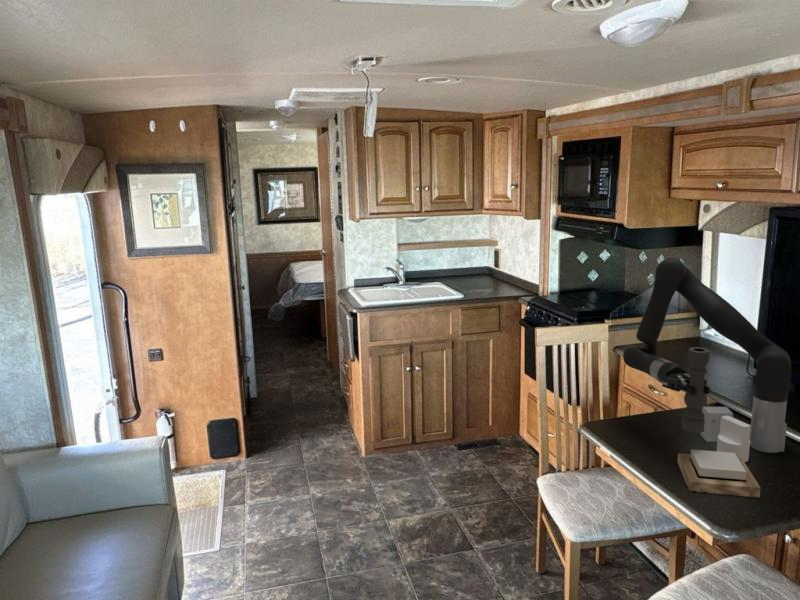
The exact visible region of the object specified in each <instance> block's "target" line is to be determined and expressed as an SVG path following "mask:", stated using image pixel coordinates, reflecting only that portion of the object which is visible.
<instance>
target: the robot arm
mask: <svg viewBox="0 0 800 600" xmlns="http://www.w3.org/2000/svg"><path fill="white" fill-rule="evenodd" d="M676 292H677V293H678V294H680V295H681V296H682V297H683V298H684V299H685V300H686V301H687V302H688V304H689V305H690V306H691V307H692V308H693V310H694V311H695V312H696V313H697V314H698V316H699V317H700V318H701V319H702V320H703V321H704V322H706V324H707V325H708V326H709V327H710V328H712V329H713V330H714V331H715V332H717V333H718V334H719V335H721V336H722V337H724V338H725V339H727V340H729V341H731V342H732V343H734V344H736V345H738V346H739V347H740V348H742V350H744V351H745V352H746V353H747V354H748V355H749V356H750V357H751V358H752V359H753V360H754V361H755V362H756V371H755V381H754V391H753V397H752V399H753V400H752V410H751V420H750V425H751V428H750V438H749V440H750V447H751V448H752V449H753V450H756V451H758V452H759V451H760V452H763V453H768V454H770V453H771V454H776V453H784V452H785V445H786V444H785V443H786V437H787V436H786V435H787V428H788V427H787V426H788V424H787V423H786V422H785V421H786V414H787V403H788V396H789V391H790V384H791V383H790V382H791V376H792V361H791V357H790V355H789V354H788V352H787V351H786V350H785V349H783V348H782V347H780V346H779V345H778V344H776V343H775V342H774V341H772V340H771V339H769V338H767V336H765V335H764V334H762V333H761V331H759V330H758V329H757V328H756V327H755V326H754V325H753V324H752V323H751V322H750V321H749V320H748V319H747V318H746V317H745V316H744V315H743V314H741V312H740V311H738V309H736V308H735V307H734V306H733V305H732V304H730V303H729V302H728V301H727V300H726V299H724V298H723V297H722V296H721V295H719V294H718V293H717V292H716V291H714V290H712V289H711V288H710V287H708V286H707V285H706V284H704V283H703V282H702V281H701V280H699V279H698V277H697V276H696V275H695V274H694V273H692V271H691V270H690V269H689V268H688V267H687V266H686V265H685V263H684V262H683V261H682V260H680V259H678V258H674V257H669V258H665V259H663V260H661V261H660V262H659V263H658V265H657V266H656V268H655V278H654V283H653V288H652V293H651V295H650V299H649V301H648V304H647V306H646V309H645V311H644V312H643V313H644V314H643V315H642V317H641V318H642V319H641V321H640V324H639V325H638V329H637V332H636V336H635V337H636V340H637V341H639V342H641V343H643V344H644V346H643V348H642V347H638V346H630V347H627V348H626V349H625V350H624V351H623V355H622V359H623V362H624V363H625V364H626V366H628V367H630V368H632V369H635V370H636V371H640V372H642V373H645V374H647V375H648V376H650V377H651V378H653V379H655V381H657V382H659V383H660V384H661V387H662V388H666V389H668V390H671V391H675V392H681V391H682V392H684V393H686V392H688V393H690V394H692V395H693V396H694V395H696V394H697V389H696V388H695V387H693V386H690V385H689V382H690V373H687V372H686V370H685V369H684V367H682V366H680V365H679V364H676V363H675V362H672V361H671V360H668V359H665V358H663V357H661V356H658V355H657V350H658V349H657V348H658V340H659V337H660V334H661V332H662V329H663V326H664V323H665V321H666V316H667V313H668V309H669V306H670V303H671V302H672V299H673V296H674V294H675V293H676ZM707 383H708V381H707V379H706V378H705V377H704V390H705V395H709V394H710V391H711V387H710V386H709V385H707Z"/></svg>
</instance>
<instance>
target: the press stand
mask: <svg viewBox="0 0 800 600" xmlns="http://www.w3.org/2000/svg"><path fill="white" fill-rule="evenodd" d="M738 459H739V461H740V462H741V464H742V466H743V467H744V469H745V470H746V480H741V479H738V480H739V481H734V480H727V479H726V480H724V479H715V478H714V479H713V478H712V479H711V478H701V477H698V474H697V473H696V471H695V470H696V469H695V468H696V467H695V465H694V463H693V461H692V459H691V453H679V452H678V453H677V465H678V467H679V469H680V473H682V476H683V477H682V478H683V479H684V482H685V484H686V486H688V487H687V489H688V491H689V492H693V491H696V492H695V493H703V492H707V493H706V494H714V493H715V494H717V495H725V496H738V497H747V498H748V497H749V498H759V499H760V497H761V496H760V495H761V489H762V487H761V486H760V484H759V483H758V481H757V479H756V478H755V477H754V475H753V474H752V472H751V470H750V469H749V468H748V466H747V465H746V462H745V463H744V461H743V460H742V458H738Z"/></svg>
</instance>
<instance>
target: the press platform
mask: <svg viewBox="0 0 800 600" xmlns="http://www.w3.org/2000/svg"><path fill="white" fill-rule="evenodd" d="M690 454H691V459H692V461H693V463H694V465H695V467H694V468H695V470H696V471H697V475H698V476H699V477H707V478H719V479H731V480H739V479H741V480H746V470H745V469H744V467H743V466H742V464H741V462H740V461H739V459H738V458H737V456H736V454H735V453H730V452H717V450H715V451H714V450H701V449H691V450H690Z"/></svg>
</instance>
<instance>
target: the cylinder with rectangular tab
mask: <svg viewBox="0 0 800 600" xmlns="http://www.w3.org/2000/svg"><path fill="white" fill-rule="evenodd" d="M750 428H751V424H748V423H746V422H744V421H741V420H739V419H737V418H735V417H734V416H733V417H730V416H722V417H721V422H720V433H719V435H718V441H717V442H716V443H717V444H716V451H717V452H730V453H735V454H736V456H737V458H742V460H743V461H744V463H745V464H746V462H747V463H748V461H749V457H750V447H751V446H750V440H749V438H750Z"/></svg>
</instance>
